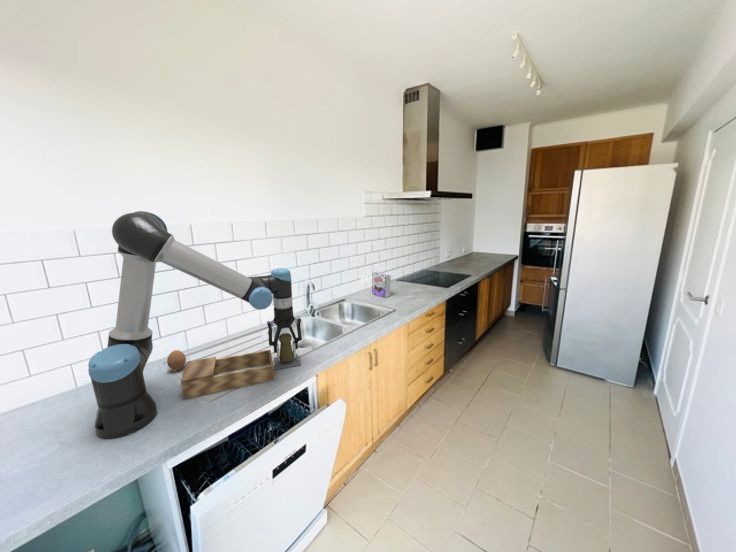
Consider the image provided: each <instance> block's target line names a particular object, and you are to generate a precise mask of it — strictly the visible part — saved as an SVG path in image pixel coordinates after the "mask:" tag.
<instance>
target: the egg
mask: <svg viewBox="0 0 736 552" xmlns="http://www.w3.org/2000/svg"><path fill="white" fill-rule="evenodd" d="M166 359H167V360H166V363H167V366H168V368H169V369H170V370H172V371H179V370H181V369H183V368H184V366H186V363H187V357H186V355H185V353H184V352H182V351H181V350H179V349H178V350H173V351H171V352H170V353H169V354H168V356H167V358H166Z"/></svg>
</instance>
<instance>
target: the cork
mask: <svg viewBox="0 0 736 552" xmlns="http://www.w3.org/2000/svg"><path fill="white" fill-rule="evenodd" d="M291 341H293V337H292V334H291V333H289V332H288V333H287V332H284V333H280V335H279V339H278V342H279V343H280V345H279V346H280V347H279V357H280V361H282V362H288V361H291V360H293V358H294V356H293V345H292V342H291Z"/></svg>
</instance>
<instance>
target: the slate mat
mask: <svg viewBox="0 0 736 552" xmlns="http://www.w3.org/2000/svg"><path fill="white" fill-rule="evenodd" d="M273 364H274V368H275V371H281V370H286V369H291V368H296V367H300V366H302V364H301V361H300V359H299V356H298V354H297V353H296V357H295V358H293V360H291V361H288V362H282V361H280V360H278V359H277V356H276V357H275V356H274V357H273Z"/></svg>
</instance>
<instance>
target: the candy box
mask: <svg viewBox="0 0 736 552" xmlns="http://www.w3.org/2000/svg"><path fill="white" fill-rule="evenodd" d="M371 276H372V277H371V294H372V295H373V296H374V295H375V296H377V297H381V298H384V299H386V298H389V297H391V281H392V280H391V279H392V276H391V274H388V273H384V272H380V271H374V272H372V274H371Z"/></svg>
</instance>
